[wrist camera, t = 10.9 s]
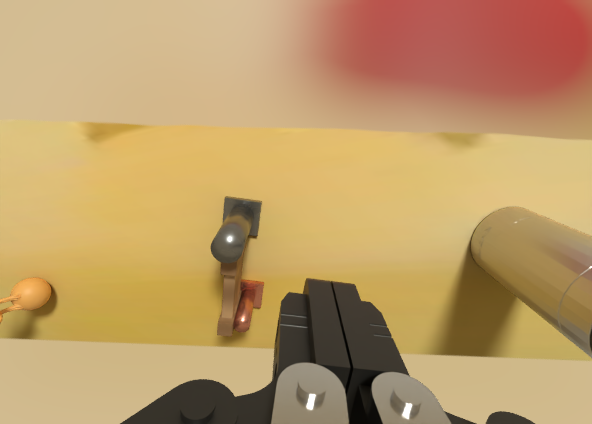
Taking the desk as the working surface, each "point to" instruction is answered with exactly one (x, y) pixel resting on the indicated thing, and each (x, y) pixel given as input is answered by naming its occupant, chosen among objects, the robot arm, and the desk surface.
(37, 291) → the figurine
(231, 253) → the gate posts
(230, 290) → the gate
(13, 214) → the desk surface
